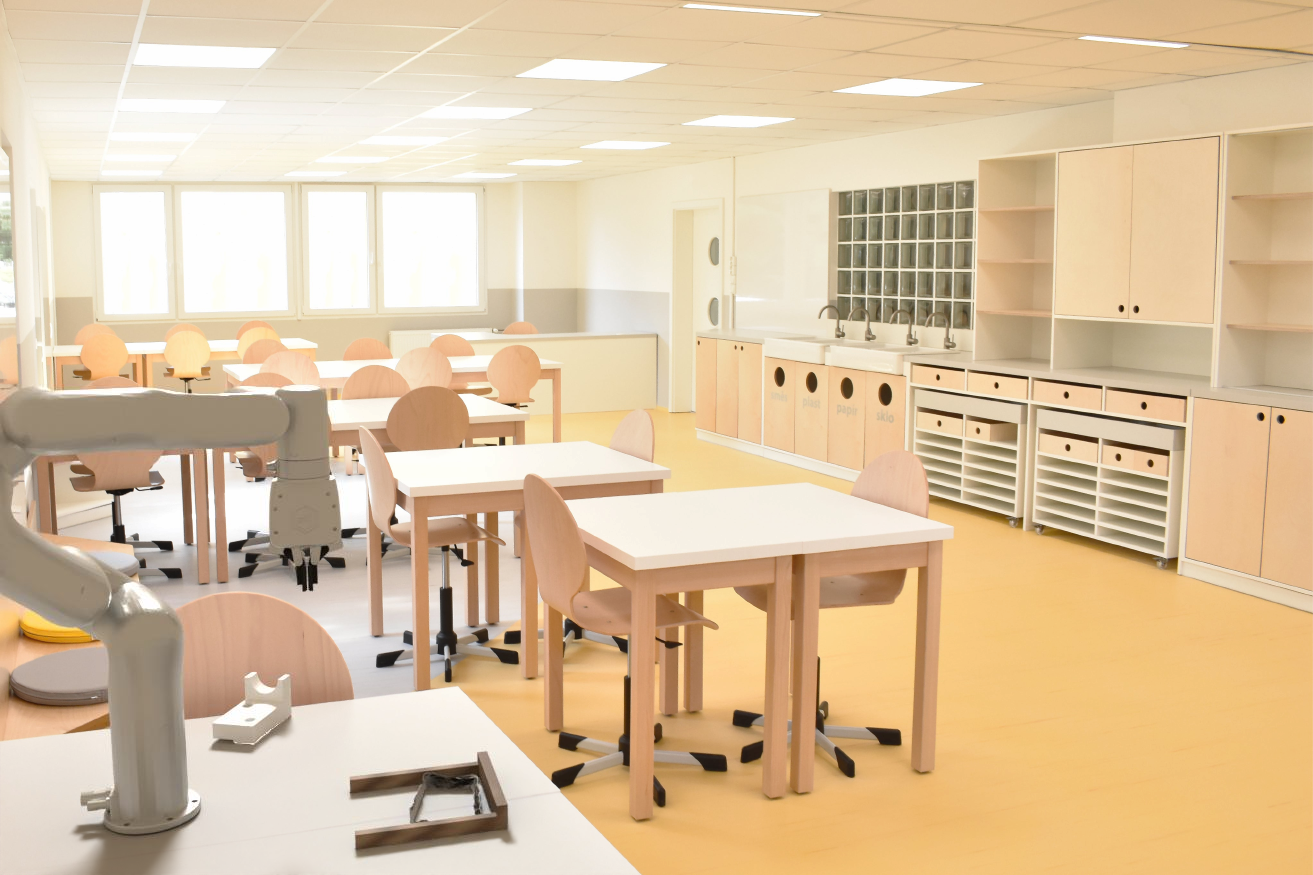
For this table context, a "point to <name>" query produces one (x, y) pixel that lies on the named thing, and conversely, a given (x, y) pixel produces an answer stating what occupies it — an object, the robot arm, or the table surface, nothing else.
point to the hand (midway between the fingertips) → (307, 588)
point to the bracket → (255, 711)
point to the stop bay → (436, 827)
